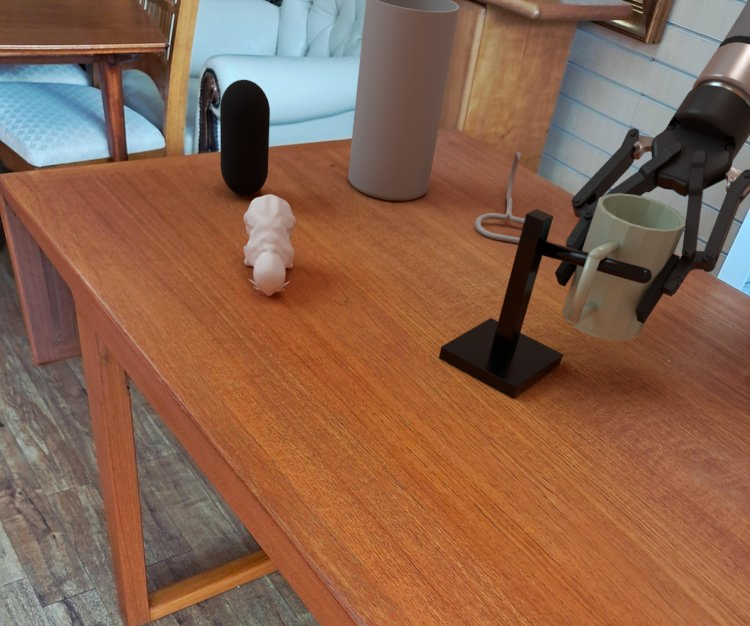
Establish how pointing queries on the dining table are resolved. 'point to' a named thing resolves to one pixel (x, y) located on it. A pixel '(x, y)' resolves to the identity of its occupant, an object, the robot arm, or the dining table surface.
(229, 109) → the decorative object
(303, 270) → the dining table surface
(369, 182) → the cylinder vase
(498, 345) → the mug stand
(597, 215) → the mug
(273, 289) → the white animal figurine
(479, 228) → the hook
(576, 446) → the dining table surface
